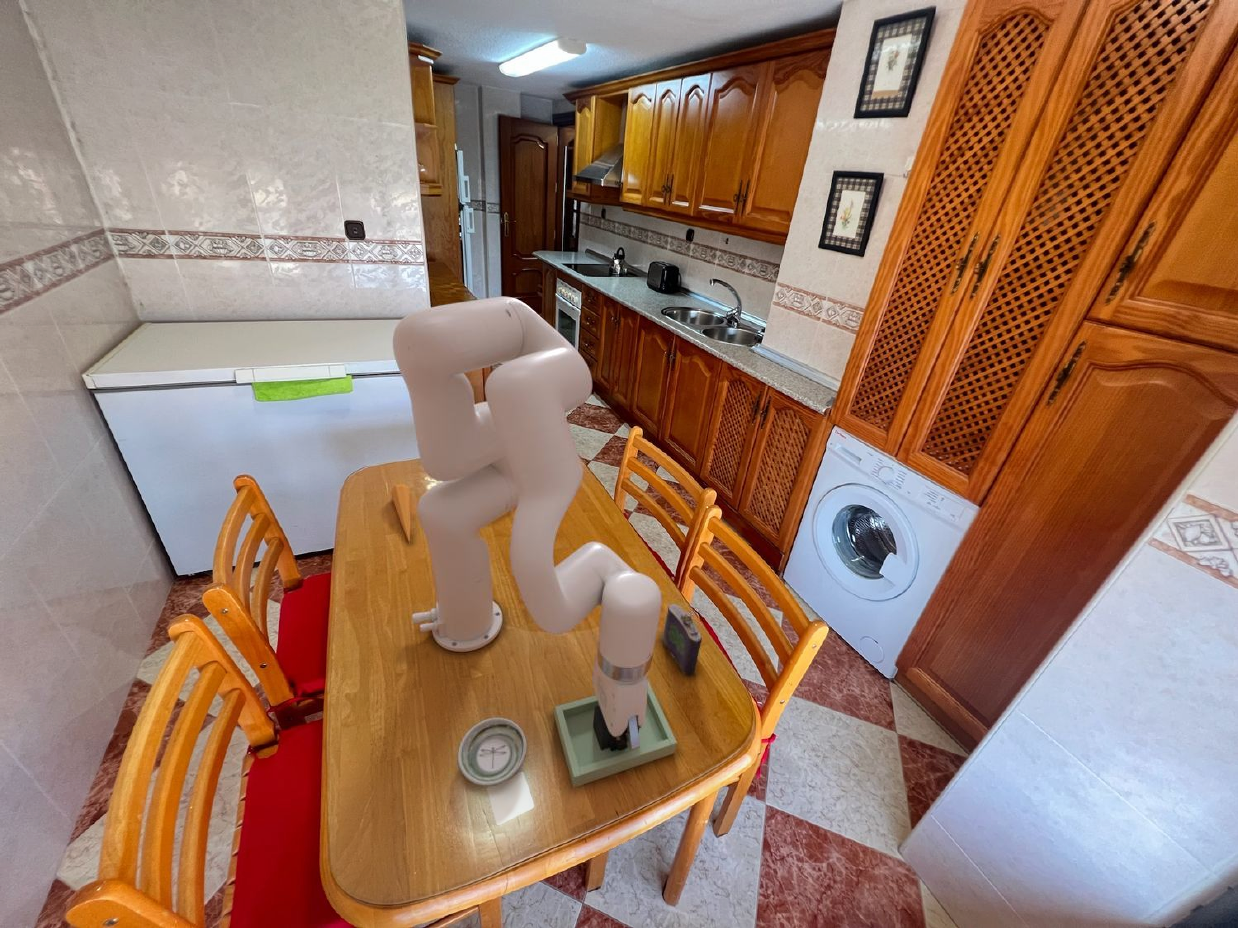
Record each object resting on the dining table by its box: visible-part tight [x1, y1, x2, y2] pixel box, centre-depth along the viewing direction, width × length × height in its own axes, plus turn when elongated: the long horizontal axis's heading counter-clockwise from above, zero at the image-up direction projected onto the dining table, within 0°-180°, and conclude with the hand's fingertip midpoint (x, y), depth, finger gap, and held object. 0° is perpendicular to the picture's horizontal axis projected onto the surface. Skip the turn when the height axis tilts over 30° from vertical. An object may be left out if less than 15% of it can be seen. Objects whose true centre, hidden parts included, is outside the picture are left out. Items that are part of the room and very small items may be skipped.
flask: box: [661, 603, 703, 677], centre depth 88 cm, size 9×3×11 cm, turn 26°
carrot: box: [390, 483, 412, 543], centre depth 117 cm, size 20×4×4 cm, turn 26°
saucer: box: [457, 717, 528, 787], centre depth 72 cm, size 10×10×2 cm
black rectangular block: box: [593, 706, 639, 750], centre depth 75 cm, size 6×4×5 cm, turn 110°
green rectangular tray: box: [554, 680, 678, 788], centre depth 76 cm, size 16×11×3 cm
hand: (614, 731), depth 76 cm, fingers closed on black rectangular block, 4 cm apart
